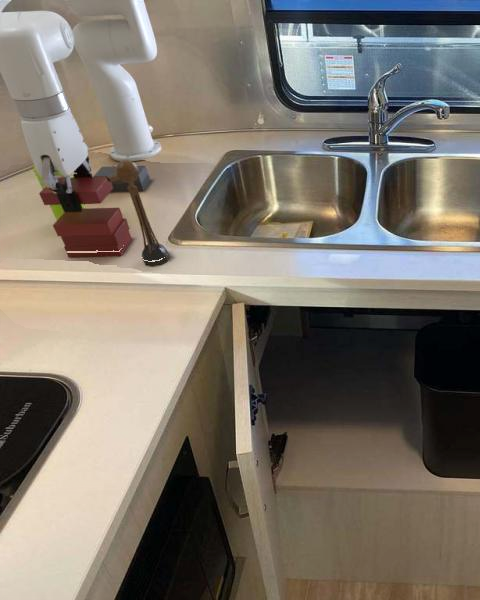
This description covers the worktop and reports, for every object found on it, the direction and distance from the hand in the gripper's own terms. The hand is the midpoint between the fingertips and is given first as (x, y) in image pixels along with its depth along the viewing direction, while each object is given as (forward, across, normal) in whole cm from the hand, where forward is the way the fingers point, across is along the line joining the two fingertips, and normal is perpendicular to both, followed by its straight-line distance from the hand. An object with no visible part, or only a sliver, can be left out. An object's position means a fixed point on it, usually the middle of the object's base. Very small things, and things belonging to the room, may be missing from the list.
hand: (81, 201), depth 102 cm
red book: (-1, 0, 0) cm, 1 cm away
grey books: (+10, -27, -5) cm, 29 cm away
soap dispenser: (+10, -10, -9) cm, 17 cm away
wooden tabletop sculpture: (+11, +5, +12) cm, 17 cm away
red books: (+10, 0, 0) cm, 10 cm away
